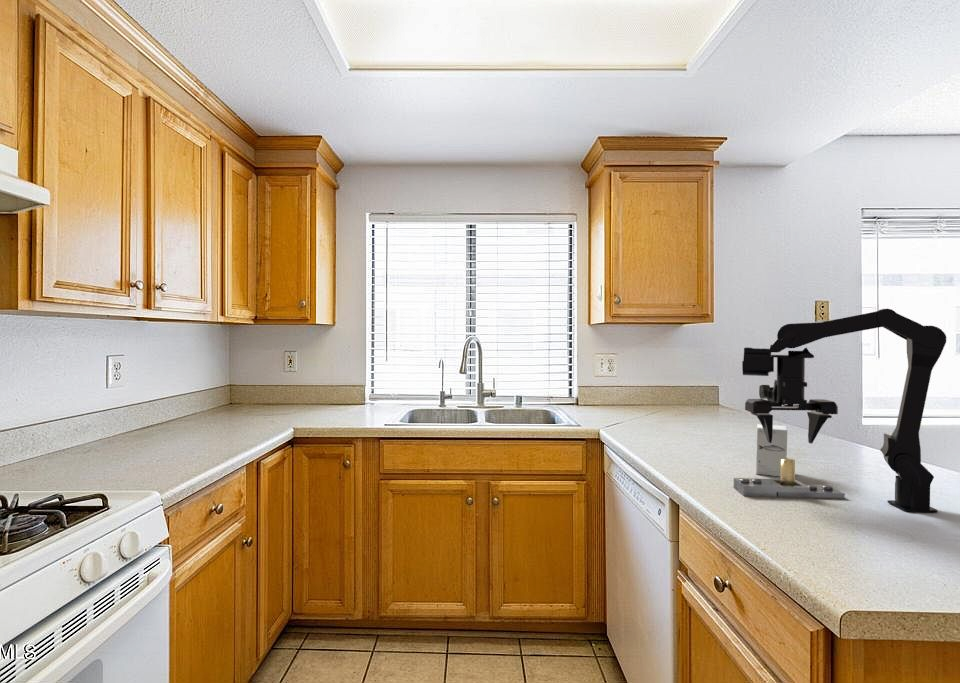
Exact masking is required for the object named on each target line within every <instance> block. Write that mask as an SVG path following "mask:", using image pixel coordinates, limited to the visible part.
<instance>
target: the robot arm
mask: <svg viewBox="0 0 960 683" xmlns="http://www.w3.org/2000/svg"><path fill="white" fill-rule="evenodd" d="M878 328H879V329H880V328H884V329H885V330H888V331H889V332H891V333H893V334H894V335H896V336H898V337H900V338H901V339H904V340H906V357H907V358H906V359H907V369H906V370H907V371H906V376H905V381H904V386H903V391H902V395H901V401H900V407H899V411H898V416H897V421H896V425H895V429H893V432H892V433H891V435H890V434H887V433H883V444H882V447H881V448H880V449H879V450H880V452H881V453H882V455H883V458H884V461H885V462H886V464H887V465H888V466H889V468H890V469H891V470H892V471H893V472H895V474H896V475H895V482H894V483H895V484H894V500H892V499H890V500H887V503H888V504H890V505H892V506H894V507H896V508H898V509H900V510H902V511H904V512H915V513H916V512H917V513H938V512H939V510H938V509H937V508H934V507H933V506H931V484H932V482H933V480H934V478H935V476H934V475H933V474H932V473H931V472H930V471H929V470H928V469H927V468H926V467H925V466H924V465H923V464H922V452H921V442H920V441H921V440H920V430H921V425H922V419H923V415H924V414H923V413H924V409H925V405H926V400H927V395H928V390H929V385H930V382H931V377H932V376H931V375H932V371H933V369H934V367H935V365H936V364H937V362H938V360H939V358H940V357H941V355H942V353H943V350H944V349H945V346H946V343H947V335H946V333H945V331H943V330H942V329H941V328H939V327H937V326H934V325H923V324H921V323H919V322H917V321H915V320H913V319H910V318H908V317H906V316H904V315H902V314H899V313H897V312H896V311H895V310H893V309H890V308H881V309H879V310H877V311H872V312H867V313H862V314H858V315H852V316H846V317H842V318H836V319H830V320H827V321H821V322H820V321H819V322H801V323H798V322H797V323H787V324H785V325H784V324H783V325H782V326H781V327H780V328H779V329H778V332H777V335H776V337H777V339H776V340H775V341H774V343H773V344H770V347H769V348H757V347H756V348H754V347H744V348H743V359H742V363H741V365H742V366H741V367H742V375H743V376H752V377H753V376H754V377H755V376H756V377H759V376H760V377H769V375H770V374H769V373H774V372H775V371H774V369H775V358H776V379H774V382H773V387H771V386H770V385H769V384H761V385H759V389H758V394H759V398H747V400H746V401H745V404H744V410H745V411H746V412H750V413H751V415H754V416H756V417H757V419H758V420H759V422H760V423H759V424H761V425H762V427H763V430H764V432H765V435H766V438H767V441H768V442H769V443H771V442H772V431H773V425H774V423H773V422H774V420H773V419H774V416H773V414H770V413H771V411H807V412H806V413H807V417H808V429H807V430H808V432H807V440H808V441H807V442H808V443H809V444H813V443H814V441H815V439H816V438H817V436H818V434H819V432H820V430H821V429H822V427H823V426H824V425H825V423H826V421H827V420H828V419H832V416H833V415H838V414H839V412H838V411H839V407H838V405H837V402H835V401H833V400H828V399H823V398H822V399H819V398H818V399H817V398H816V399H814V398H813V399H811V398H810V399H809V401H808V399H805V388H807V387H808V382H807V381H805V376H806V375H805V374H806V373H805V370H806V361H805V360H806V359H814V358H815V355H814V354H813V353H811V352H810V351H809V349H808V347H804V349H803V350H788V351H787V354H772V353H780V352H782V351H783V350H785V349H796V348H799V347H802V346H805V345H808V344H810V343H814V342H815V341H818V340H821V339H824V338H829V337H835V336H839V335H846V334H851V333H852V334H853V333H857V332H862V331H868V330H872V329H873V330H874V329H878ZM766 399H767V400H766ZM807 401H808V402H807Z"/></svg>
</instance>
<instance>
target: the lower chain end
mask: <svg viewBox="0 0 960 683" xmlns="http://www.w3.org/2000/svg"><path fill="white" fill-rule="evenodd" d="M805 485H806V486H808V487H810V493H799V492H777V497H776V498H794V499H795V498H796V499H797V498H798V499H799V498H800V499H801V498H803V499H831V500H833V499H837V500H845V497H846V496H845V493H844V492H842V491H841V490H839V489H836V488H835V487H834V486H832V485H829V484H805Z"/></svg>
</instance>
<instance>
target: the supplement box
mask: <svg viewBox="0 0 960 683" xmlns="http://www.w3.org/2000/svg"><path fill="white" fill-rule="evenodd" d="M755 439H756V446H755V448H756V449H755V452H756V453H755V473H756V475H764V476H771V477H772V476H773V477H780V467H781V458H787V454H788V426H787V425H775V424H773V431H772V442H771V443H769V442H768V441H767V438H766V435H765V432H764V430H763V427H762V425H761V423H757V424H756V438H755Z"/></svg>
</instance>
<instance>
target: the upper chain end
mask: <svg viewBox="0 0 960 683" xmlns="http://www.w3.org/2000/svg"><path fill="white" fill-rule="evenodd" d="M806 485H807V484H806V483H803V482H801V481H799V480H797V479H796V478H795V486H782V485H780V478H753V477H752V478H748V477H747V478H746V477H745V478H744V477H733V489H735V490H736V491H737V492H738V493H740V494H741V495H742V496H744V497H754V498H755V497H759V498H761V497H763V498H765V497H766V498H778V497H777V492H799V493H810V487H808V486H806Z"/></svg>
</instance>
